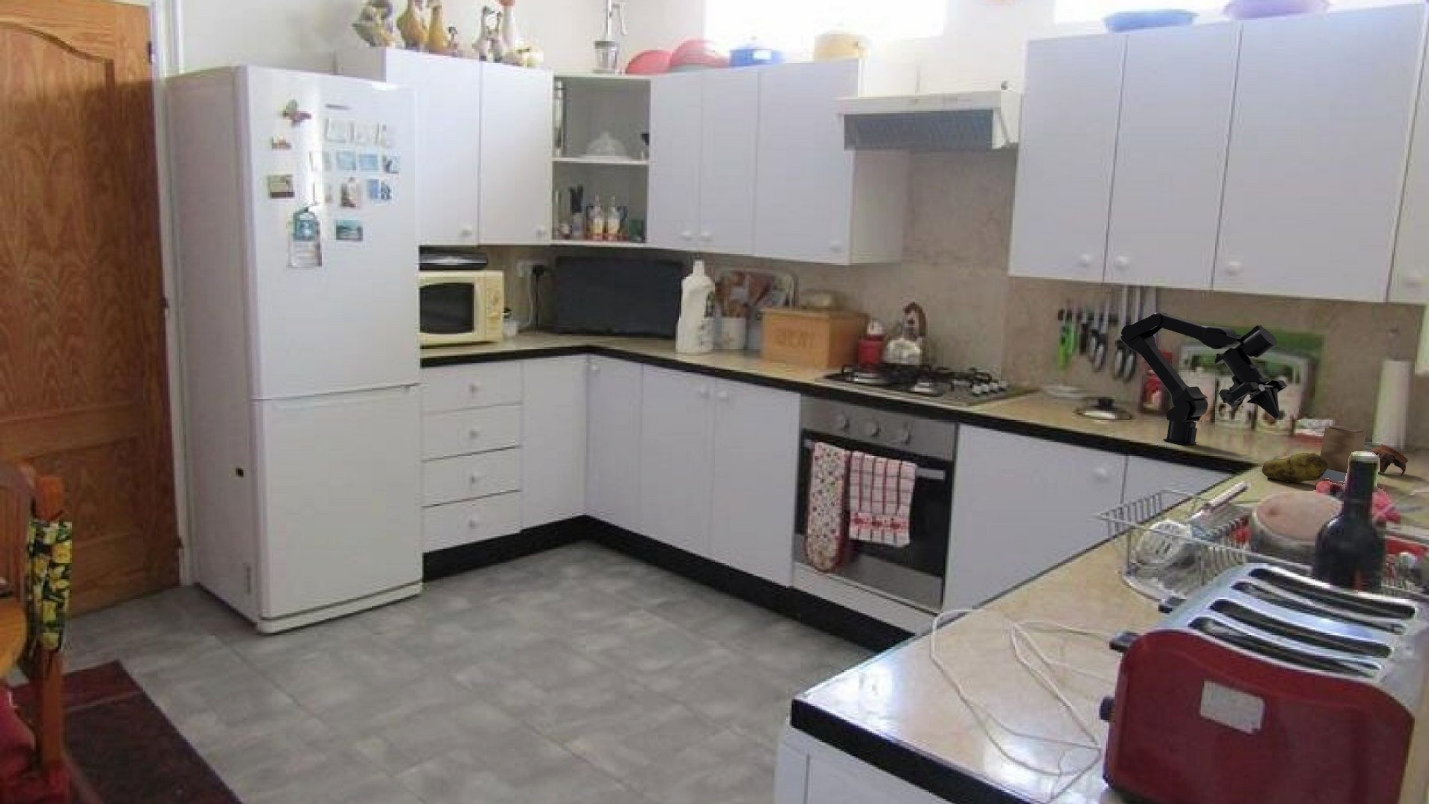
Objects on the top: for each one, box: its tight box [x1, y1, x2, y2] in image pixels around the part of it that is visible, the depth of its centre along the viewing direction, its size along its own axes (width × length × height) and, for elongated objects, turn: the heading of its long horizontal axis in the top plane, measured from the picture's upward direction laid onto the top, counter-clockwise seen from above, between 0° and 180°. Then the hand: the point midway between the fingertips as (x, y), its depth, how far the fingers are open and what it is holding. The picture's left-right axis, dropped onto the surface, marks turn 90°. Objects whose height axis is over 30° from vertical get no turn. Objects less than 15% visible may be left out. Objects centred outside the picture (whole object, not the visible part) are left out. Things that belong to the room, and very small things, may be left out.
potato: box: [1261, 452, 1328, 483], centre depth 244 cm, size 8×13×8 cm, turn 32°
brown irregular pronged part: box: [1367, 444, 1409, 477], centre depth 262 cm, size 12×10×8 cm
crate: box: [1319, 424, 1367, 473], centre depth 252 cm, size 7×6×12 cm
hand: (1277, 417), depth 264 cm, fingers closed
